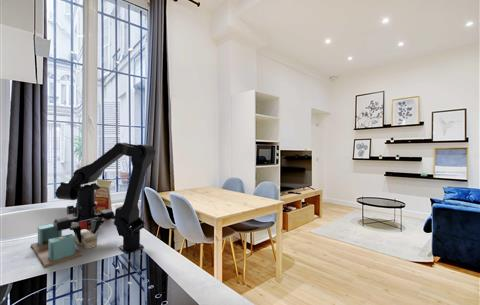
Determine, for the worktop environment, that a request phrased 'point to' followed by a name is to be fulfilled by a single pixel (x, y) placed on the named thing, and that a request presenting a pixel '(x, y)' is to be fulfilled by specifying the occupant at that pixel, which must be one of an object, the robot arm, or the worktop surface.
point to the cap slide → (61, 247)
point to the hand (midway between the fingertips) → (85, 240)
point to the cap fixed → (47, 233)
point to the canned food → (87, 224)
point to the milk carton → (103, 195)
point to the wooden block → (87, 239)
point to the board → (43, 254)
